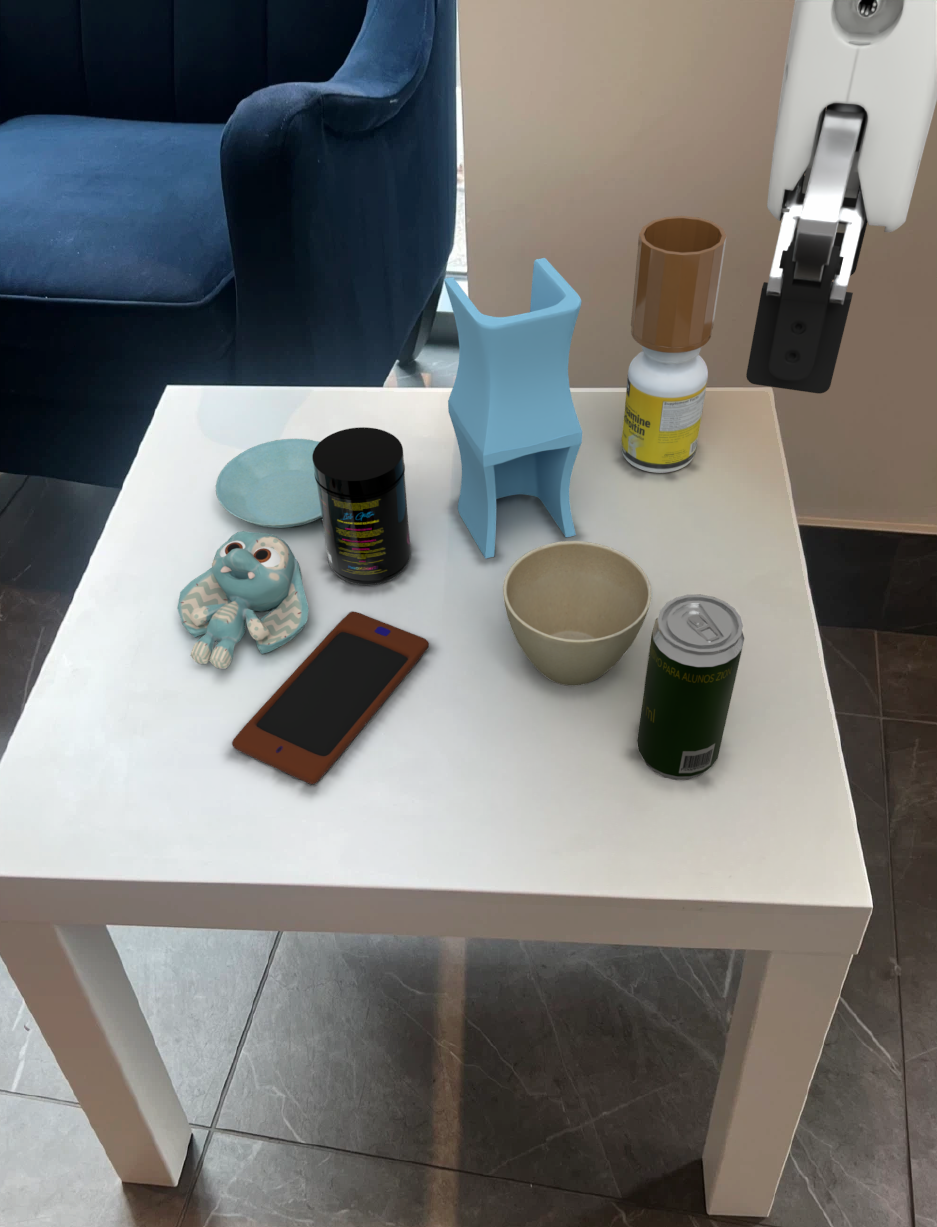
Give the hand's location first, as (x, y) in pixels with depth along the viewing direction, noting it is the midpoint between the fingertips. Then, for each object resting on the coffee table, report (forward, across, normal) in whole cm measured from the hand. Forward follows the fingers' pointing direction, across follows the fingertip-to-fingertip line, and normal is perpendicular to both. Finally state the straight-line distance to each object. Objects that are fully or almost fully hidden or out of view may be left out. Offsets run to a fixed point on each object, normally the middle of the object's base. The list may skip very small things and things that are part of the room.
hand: (803, 324), depth 47 cm
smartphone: (+33, +1, +26) cm, 42 cm away
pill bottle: (+34, +36, +11) cm, 50 cm away
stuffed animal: (+34, +6, +36) cm, 49 cm away
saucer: (+34, +21, +39) cm, 56 cm away
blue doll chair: (+34, +24, +20) cm, 46 cm away
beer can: (+34, +3, +2) cm, 34 cm away
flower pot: (+34, +10, +11) cm, 37 cm away
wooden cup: (+22, +36, +11) cm, 43 cm away
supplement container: (+34, +16, +29) cm, 47 cm away
